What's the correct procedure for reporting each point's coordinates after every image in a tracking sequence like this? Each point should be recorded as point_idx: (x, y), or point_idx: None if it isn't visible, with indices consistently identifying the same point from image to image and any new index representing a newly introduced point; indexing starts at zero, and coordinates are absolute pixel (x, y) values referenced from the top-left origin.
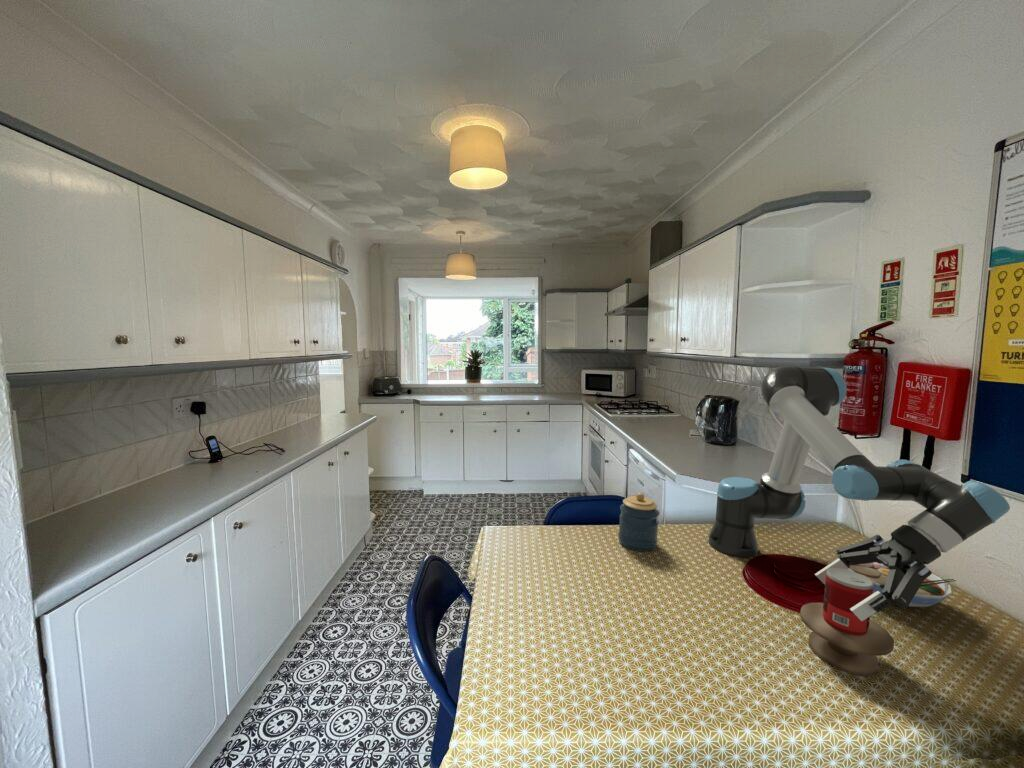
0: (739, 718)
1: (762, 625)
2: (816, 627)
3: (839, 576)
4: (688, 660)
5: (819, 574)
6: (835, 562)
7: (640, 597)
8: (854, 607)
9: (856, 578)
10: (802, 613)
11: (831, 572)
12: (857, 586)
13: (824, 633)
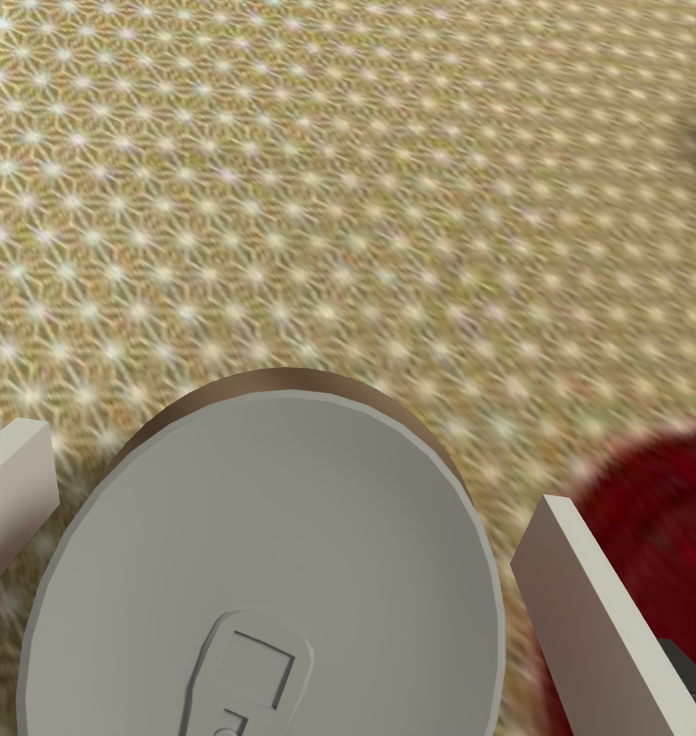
0: (31, 76)
1: (429, 338)
2: (253, 385)
3: (314, 513)
4: (234, 55)
5: (553, 519)
6: (669, 716)
7: (505, 44)
8: (8, 439)
9: (270, 728)
10: (364, 389)
11: (385, 465)
12: (51, 559)
13: (207, 393)
